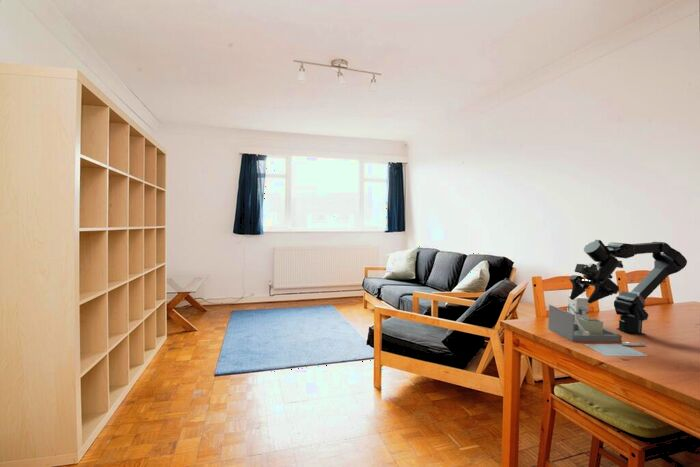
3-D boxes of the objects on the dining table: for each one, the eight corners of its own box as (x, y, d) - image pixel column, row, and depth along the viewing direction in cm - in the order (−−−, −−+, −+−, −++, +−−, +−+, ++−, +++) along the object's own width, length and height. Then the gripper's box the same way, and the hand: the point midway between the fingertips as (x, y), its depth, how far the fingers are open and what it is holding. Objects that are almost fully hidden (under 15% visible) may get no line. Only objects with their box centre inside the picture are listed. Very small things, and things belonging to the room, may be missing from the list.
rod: (643, 346, 119) (643, 342, 119) (646, 347, 118) (646, 344, 117) (620, 344, 119) (621, 341, 118) (623, 345, 117) (624, 342, 117)
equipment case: (592, 329, 136) (593, 305, 136) (621, 342, 122) (622, 315, 121) (548, 329, 136) (549, 304, 135) (572, 342, 121) (573, 314, 121)
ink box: (566, 319, 150) (567, 293, 149) (578, 320, 149) (580, 294, 148) (575, 325, 141) (576, 297, 141) (588, 326, 140) (589, 298, 140)
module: (593, 333, 130) (594, 317, 130) (602, 337, 126) (603, 320, 125) (578, 333, 130) (578, 317, 130) (586, 337, 126) (587, 320, 125)
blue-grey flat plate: (622, 345, 119) (622, 344, 119) (648, 357, 109) (648, 355, 109) (583, 345, 119) (583, 344, 119) (605, 356, 109) (605, 355, 109)
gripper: (570, 255, 139) (548, 284, 138) (607, 256, 121) (581, 290, 120) (591, 273, 139) (568, 302, 138) (631, 276, 121) (605, 310, 120)
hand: (579, 300), depth 129 cm, fingers open, 9 cm apart
